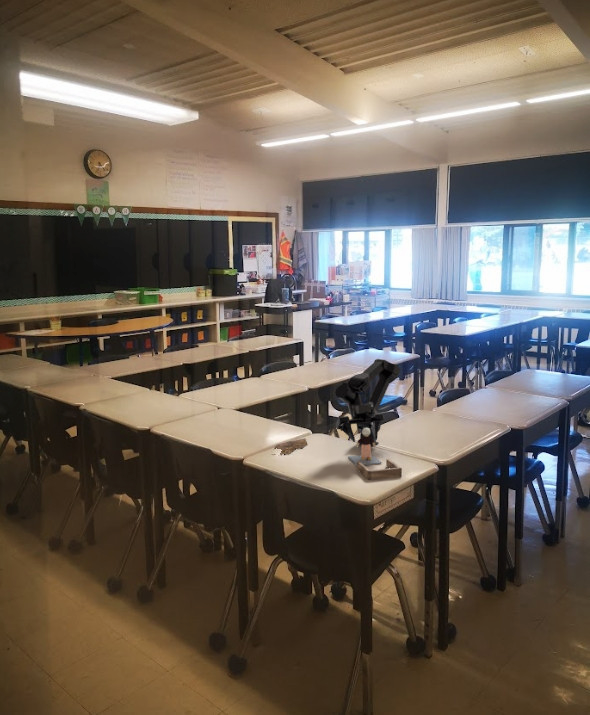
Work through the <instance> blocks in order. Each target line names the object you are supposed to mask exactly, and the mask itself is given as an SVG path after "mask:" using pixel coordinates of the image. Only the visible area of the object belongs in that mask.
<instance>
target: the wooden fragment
mask: <svg viewBox="0 0 590 715" xmlns="http://www.w3.org/2000/svg"><path fill="white" fill-rule="evenodd" d="M305 446H309V444H308V442H307V439H306V438H299V439H295V440H289V441H286V442H281V443H279V444H277V445H275V446H274V448H273V450H274V449H276V448H277V449H281V450H282V451H281V453H280V454H288V455H291V453H292V452H295V451H296V449H297V450H300V449H303V448H305ZM288 455H287V456H288Z"/></svg>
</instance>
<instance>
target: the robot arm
mask: <svg viewBox="0 0 590 715" xmlns="http://www.w3.org/2000/svg"><path fill="white" fill-rule="evenodd" d="M398 375H400V367H399V364H396V363H391V362H390V361H388V360H387V359H380V358H376V359H375V360H374V362H373V363H372V364H371V365H369V366H368V367H367V368H365V370H364V371H363V372H362V373H361V372H360V373H358V374H355V375H353V376H351V377H350V378H349V380H348V381H347V382H344V381H343V382H342V384H341V385H338V387H336V389H335V392H334V394H335V396H336V397H337V398H338V399H340V400H341V401H343V402H344V403H346V404H347V406H348V407H347V408H348V414H349V415H350V417H351V419H350V417H349V415H344V416H339V417H338V418H337V421H336V422H335V427H336V429H337V430H340V432H343V433H344V434H345V435H346V436H347V437H348V438H349V439H350V440H351V441H352V442H353V443H355V442H356V438H355V434H354V432H353V428H352V425H356V428H357V430H360V433H359V439H360V438H362V437H365V436H363V434H362V430H363V429H364V428H369V429H370V434H369V436H368V437H371V438H372V439H373V440H374V442H375V445H376V446H377V445H378V444H379V442H378V441H377V440H378V432H380V430H381V426H382V424H383V422H384V421H385V417H384V414H382V413H378V411H379V407H380V406H381V404H382V401H383V399H384V397H385V394H387V393H386V392H387V390H388V388H389V386H390V384H392V383H394V381H396V379H398V377H399V376H398ZM377 376H378V380H377V382H376V384H375V386H374V389H373V391H372V393H371V395H370V398H369V400H368V402H367V403H365V404H364V403H363V402H362V396H361V395H360V393H365V392H367V391H368V390H369V388H370V386H371V383H372V381H373V380H374V379H375V378H376V377H377ZM360 445H362V443H361V444H360ZM370 445H371V447H372V446H373V444H372V443H371V442H370Z"/></svg>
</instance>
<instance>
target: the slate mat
mask: <svg viewBox="0 0 590 715" xmlns="http://www.w3.org/2000/svg"><path fill="white" fill-rule="evenodd" d="M371 457H372V459H371V460H367V457H366V460H362V459H361V454H358V455H357V454H356V455H350V456H349V455H348V456H347V458H348V460H350V461H351V462H352V463H353V464H354V465H355V466H357V462H359V461H360V462H361V463H362V464H363V465H364V466H365V467H366V466H373V465H372V464H375V465H382V464H381V463H383V462H382V461H381V460H380V459H378V458H377V457H375V456H374V455H373V454H372V453H371Z"/></svg>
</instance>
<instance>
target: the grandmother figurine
mask: <svg viewBox="0 0 590 715" xmlns="http://www.w3.org/2000/svg"><path fill="white" fill-rule="evenodd" d="M361 430H362V429H361ZM362 434H363V436H365V437H362V438H360V437H359V439H358V440H357V441H356V444H355V447H358V448H359V446H360V445H361V450H360V452H361V453H360V455H361V459H362V460H366V457H367V460H371V459H372V457H371V454H372V446H373V447H377V444H376V445H375V442H374V440H373V439H372V438H371V437H368V436H369V434H370V429H369V428H364V429H363V430H362ZM370 442H371V443H372V444H373V445H372V446H371V445H370ZM361 443H362V444H361Z"/></svg>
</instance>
